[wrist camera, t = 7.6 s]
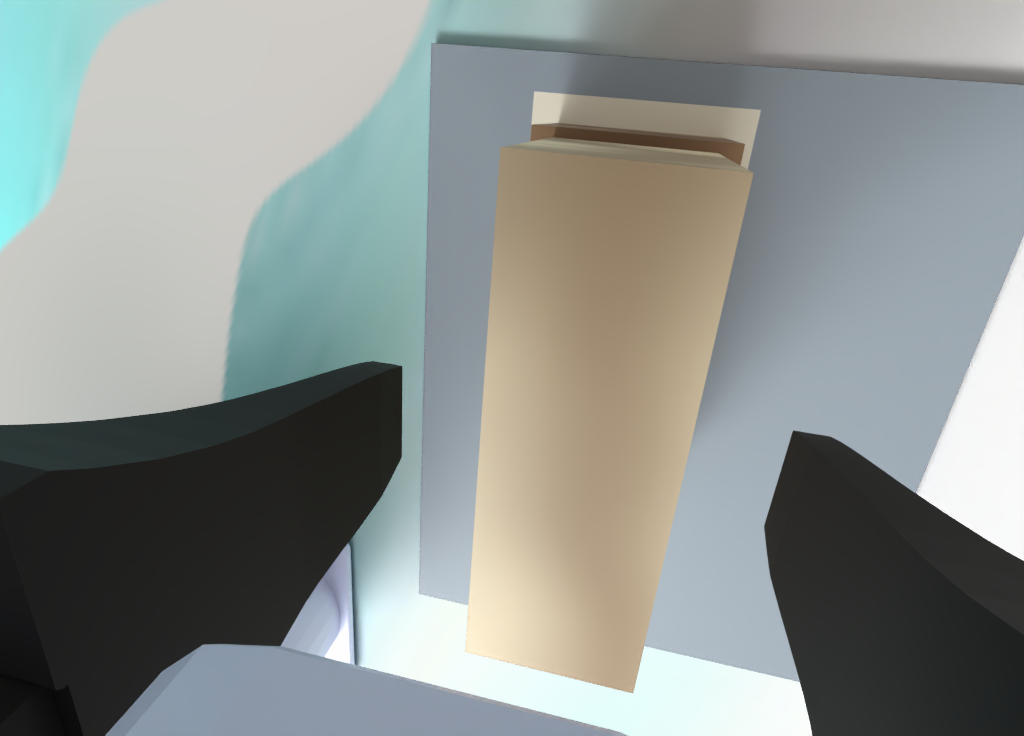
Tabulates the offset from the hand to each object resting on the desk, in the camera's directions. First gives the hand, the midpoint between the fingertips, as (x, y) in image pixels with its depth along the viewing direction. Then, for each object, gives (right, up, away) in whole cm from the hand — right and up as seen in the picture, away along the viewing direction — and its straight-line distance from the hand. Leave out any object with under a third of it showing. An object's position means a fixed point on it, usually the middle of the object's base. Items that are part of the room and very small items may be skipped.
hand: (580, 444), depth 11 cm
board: (+4, 0, +8) cm, 9 cm away
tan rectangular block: (+1, +2, +4) cm, 4 cm away
